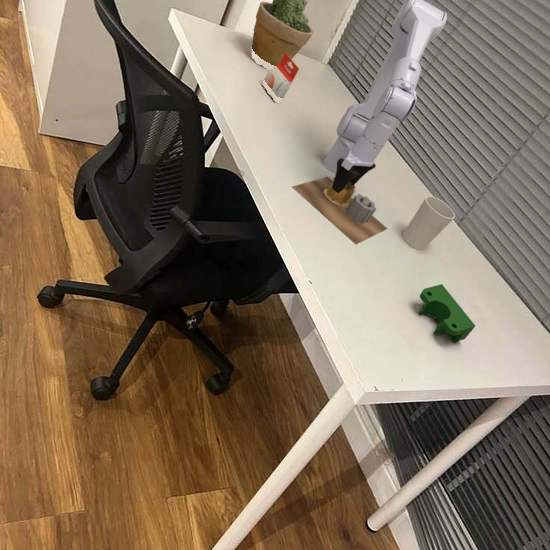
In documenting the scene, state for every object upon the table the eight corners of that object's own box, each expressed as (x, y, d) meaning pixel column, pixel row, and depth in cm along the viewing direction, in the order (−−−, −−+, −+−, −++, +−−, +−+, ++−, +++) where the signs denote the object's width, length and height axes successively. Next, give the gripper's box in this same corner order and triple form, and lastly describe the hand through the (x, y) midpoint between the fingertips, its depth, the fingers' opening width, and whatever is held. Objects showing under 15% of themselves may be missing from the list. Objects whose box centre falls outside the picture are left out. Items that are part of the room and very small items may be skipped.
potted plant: (244, 41, 186) (276, -34, 171) (293, 67, 189) (328, -4, 175) (236, 58, 171) (270, -23, 157) (289, 85, 175) (328, 9, 160)
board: (325, 180, 138) (336, 161, 134) (384, 232, 132) (398, 214, 129) (289, 190, 126) (300, 170, 122) (353, 248, 120) (367, 228, 117)
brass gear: (337, 188, 134) (345, 175, 132) (351, 203, 132) (359, 191, 129) (321, 190, 130) (329, 176, 128) (336, 206, 128) (344, 192, 125)
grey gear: (353, 205, 132) (362, 192, 130) (370, 220, 130) (380, 207, 128) (342, 210, 128) (350, 196, 125) (359, 225, 126) (369, 212, 124)
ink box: (274, 103, 159) (291, 66, 152) (260, 85, 164) (277, 49, 157) (281, 104, 161) (299, 69, 154) (268, 87, 166) (285, 52, 159)
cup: (425, 245, 137) (455, 209, 130) (423, 261, 130) (454, 223, 123) (398, 229, 137) (426, 191, 130) (394, 243, 130) (424, 204, 123)
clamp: (407, 324, 117) (414, 286, 113) (428, 317, 119) (435, 280, 115) (448, 353, 108) (457, 313, 103) (470, 345, 110) (480, 306, 106)
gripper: (372, 124, 128) (342, 171, 136) (345, 132, 117) (314, 182, 124) (395, 142, 126) (364, 188, 134) (370, 152, 115) (338, 202, 123)
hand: (342, 187), depth 129 cm, fingers open, 6 cm apart
